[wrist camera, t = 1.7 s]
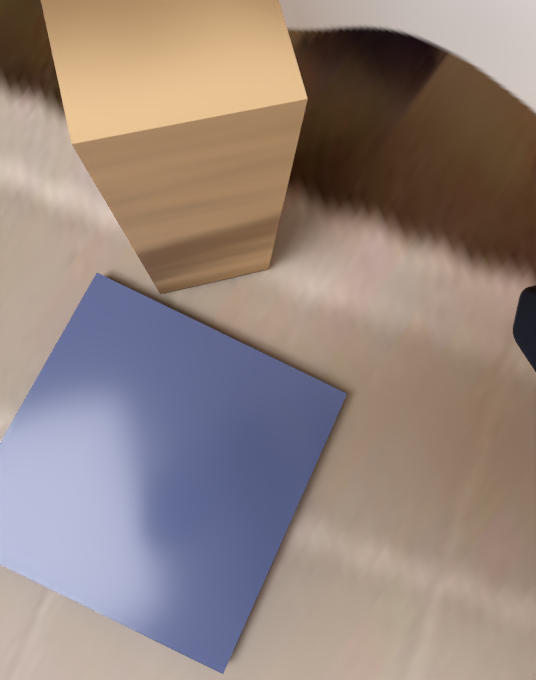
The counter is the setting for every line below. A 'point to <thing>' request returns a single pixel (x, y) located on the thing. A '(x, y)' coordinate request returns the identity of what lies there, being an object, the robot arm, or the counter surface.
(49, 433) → the blue tile
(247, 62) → the oak block
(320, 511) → the counter surface
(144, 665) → the counter surface
